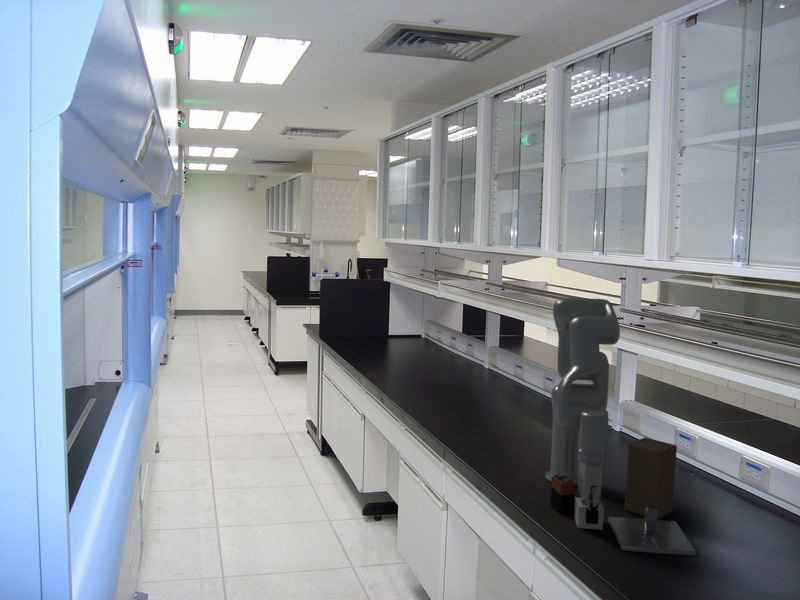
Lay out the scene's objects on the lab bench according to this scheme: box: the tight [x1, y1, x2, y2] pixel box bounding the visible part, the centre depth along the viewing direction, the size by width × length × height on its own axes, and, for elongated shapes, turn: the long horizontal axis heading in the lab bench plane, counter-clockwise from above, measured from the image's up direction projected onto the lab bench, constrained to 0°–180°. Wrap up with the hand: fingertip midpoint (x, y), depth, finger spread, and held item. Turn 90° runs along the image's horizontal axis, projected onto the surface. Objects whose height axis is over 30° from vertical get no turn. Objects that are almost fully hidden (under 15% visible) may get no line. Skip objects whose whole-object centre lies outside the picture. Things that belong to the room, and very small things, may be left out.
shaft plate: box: [607, 506, 697, 557], centre depth 182 cm, size 18×18×8 cm
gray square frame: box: [573, 496, 605, 531], centre depth 190 cm, size 7×7×6 cm
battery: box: [550, 473, 576, 515], centre depth 199 cm, size 4×7×10 cm, turn 13°
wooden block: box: [624, 437, 678, 520], centre depth 199 cm, size 10×10×20 cm
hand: (588, 516), depth 190 cm, fingers open, 9 cm apart
